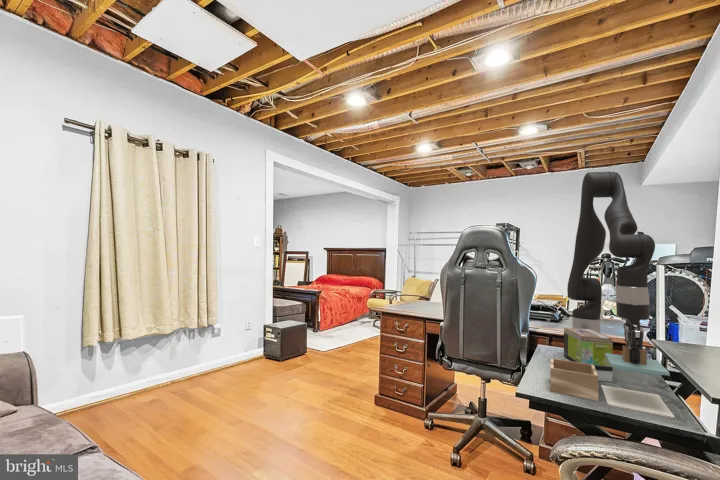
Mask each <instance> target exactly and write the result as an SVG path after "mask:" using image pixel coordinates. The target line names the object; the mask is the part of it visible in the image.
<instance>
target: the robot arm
mask: <svg viewBox="0 0 720 480" xmlns="http://www.w3.org/2000/svg"><path fill="white" fill-rule="evenodd" d="M595 198H611V199H612V200H611V202H610V204H609V205H607V208H606V209H605V211H604V216H603V217H604V221H605V224H606V226H607V229H608V232H609V243H608V244H609V245H608V249H609V252H610V254H612V255H613V256H614V257H616V258H621V259H622V258H623V259H624V258H625V259H627V258H629V259H635V261H634V262H633V263H632V264H628V265H621V266H619V267H618V268H617V269H616V290H615V291H616V293H615V297H616V298H615V299H616V301H615V304H616V305H615V306H616V310H615V311H616V317H618V318H621V319H625V322H623V334H624V335H623V336H624V342H625V346H629V349H630V362H631V363H637V364H639V363H640V351H641V350H642V348H643V342H644V334H645V332H644V327H643V325H641V321H648V320H649V319H650V294H649V287H648V285H649V283H648V281H649V280H648V278H649V277H648V273H649V270H650V269H649V268H650V264H651V261H652V258H653V256H654V253H655V250H656V243H655V241H654V238H653V237H652V236H651V235H649V234H645V233H644V234H643V233H642V234H638V233H637V231H638V225H637V222H636V220H635V218H634V216H633V214H632V212H631V210H630V208H629V204H628V201H627V194H626V190H625V186H624V182H623V179H622V177H621V175H620V173H618V172H616V171H590V172H586V173H585V175H584V176H583V179H582V184H581V197H580V208H579V209H580V210H579V211H580V212H579V217H578V223H577V231H576V236H575V241H574V242H575V244H574V252H573V260H572V265H571V268H570V269H571V270H570V274H569V277H568V281H567V288H566V289H567V295H568V296H567V297H569V299H570V300H572V301H580V302H581V301H582V302H586V303H585V304H584V305H582V306H581V307H577V308H574V309H573V310H572V313H571V314H572V320H571V321H572V322H571V323H572V328H579V329H592V330H594V331H597V332H599V333H601V313H602V297H603V289H602V283H601V281H600V280H599V279H597V278H596V277H584V275H585V272H586V270H587V268H588V267H589V266H590V265H591V264H592V263H594V261H595V260H596V259H597V258H598V257H599V256H600V255H601V254H602V253H603V250H604V249H605V244H606V237H607V231H606V228H605V226H604V224H603V222H602V221H601V220H600V218H599V217H598V215H597V213H596V210H595V208H594V199H595ZM636 233H637V234H636Z"/></svg>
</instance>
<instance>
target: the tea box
mask: <svg viewBox="0 0 720 480" xmlns="http://www.w3.org/2000/svg"><path fill="white" fill-rule="evenodd" d="M605 353H609V354H614V353H613V338H612V337H611V336H608V335H605V334H604V333H601V332H600V333H599V332H597V331H594V330H592V329H579V328H573V327H564V328H563V360H566V361H572V362H579V363H586V364H592V365H594V366H595V369H596V372H597V374H598V382H599V381H600V382H613V381H614V380H613V378H614V375H613V374H614V372H613V367H611V366H610V364H609V362H608V360H607V358H606V356H605Z"/></svg>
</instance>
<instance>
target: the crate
mask: <svg viewBox="0 0 720 480" xmlns="http://www.w3.org/2000/svg"><path fill="white" fill-rule="evenodd" d="M550 392H552V393H556V394H560V395H561V394H562V395H567V396H571V397H572V396H573V397H576V398H582V399H587V400H591V401H599V381H598V374H597V372H596V369H595V366H594V365H592V364H586V363H579V362H572V361H566V360H564V359H560V358H559V359H558V358H550Z"/></svg>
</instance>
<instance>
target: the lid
mask: <svg viewBox="0 0 720 480" xmlns="http://www.w3.org/2000/svg"><path fill="white" fill-rule="evenodd" d="M647 355H648V351H647V350H646V349H645V348H644V347H642V350H641V351H640V363H639V364H637V363H631V362H630V349H629V346H627V345H622V354H614V353H613V354H609V353H605V356H606V358H607V360H608V362H609V364H610V366H611V367H612V368H614V369H615V370H616V371H622V372H630V373H636V374H641V375H647V376H654V377H659V378H660V377H662V376H668V377H670V376H671V375H670V372H669V371H668V369H666V368H665V367H664V365H663V364H661V363H660V361H658V360H657V359H648V356H647Z"/></svg>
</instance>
